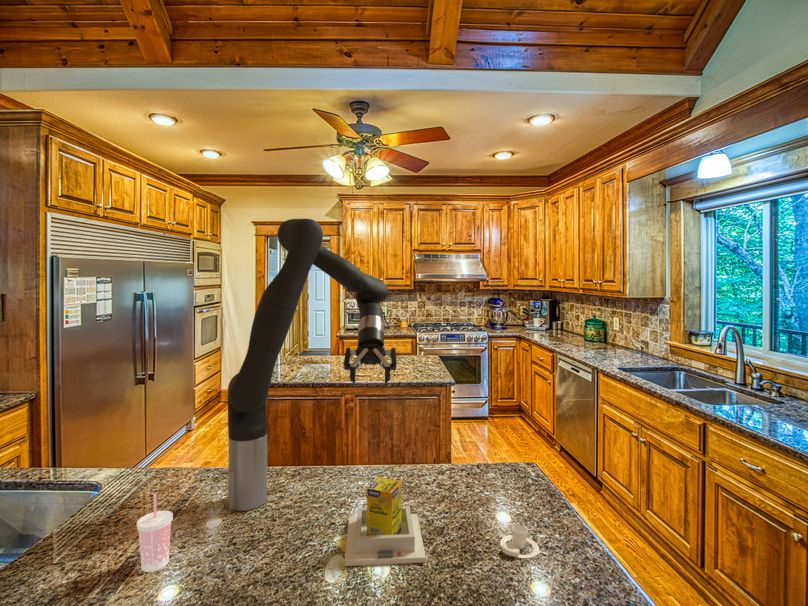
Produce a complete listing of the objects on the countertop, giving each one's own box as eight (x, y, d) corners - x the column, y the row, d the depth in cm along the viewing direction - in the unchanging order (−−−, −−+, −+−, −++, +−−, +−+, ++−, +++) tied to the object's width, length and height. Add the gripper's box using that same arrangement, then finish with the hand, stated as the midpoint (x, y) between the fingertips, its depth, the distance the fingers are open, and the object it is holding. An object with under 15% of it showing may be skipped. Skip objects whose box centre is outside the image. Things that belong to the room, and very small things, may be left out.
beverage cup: (176, 551, 83) (176, 484, 83) (169, 570, 77) (168, 498, 77) (142, 557, 81) (141, 488, 81) (132, 577, 75) (131, 503, 75)
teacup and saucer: (508, 564, 80) (508, 543, 80) (490, 540, 88) (490, 521, 87) (547, 557, 82) (547, 537, 82) (526, 534, 90) (526, 516, 90)
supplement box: (392, 545, 83) (392, 493, 83) (366, 539, 86) (366, 488, 85) (402, 529, 89) (402, 480, 89) (377, 524, 91) (377, 476, 91)
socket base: (344, 566, 78) (344, 545, 78) (349, 520, 94) (349, 503, 94) (425, 562, 80) (425, 542, 80) (417, 517, 96) (417, 501, 95)
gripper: (345, 325, 114) (342, 373, 102) (396, 325, 115) (397, 373, 103) (347, 342, 119) (343, 389, 108) (395, 342, 120) (396, 389, 109)
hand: (370, 381), depth 106 cm, fingers open, 8 cm apart
